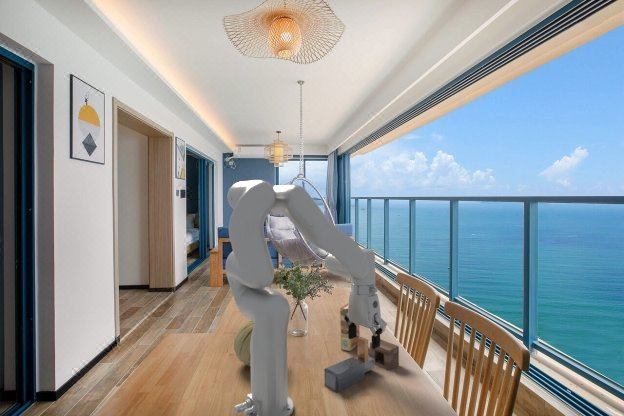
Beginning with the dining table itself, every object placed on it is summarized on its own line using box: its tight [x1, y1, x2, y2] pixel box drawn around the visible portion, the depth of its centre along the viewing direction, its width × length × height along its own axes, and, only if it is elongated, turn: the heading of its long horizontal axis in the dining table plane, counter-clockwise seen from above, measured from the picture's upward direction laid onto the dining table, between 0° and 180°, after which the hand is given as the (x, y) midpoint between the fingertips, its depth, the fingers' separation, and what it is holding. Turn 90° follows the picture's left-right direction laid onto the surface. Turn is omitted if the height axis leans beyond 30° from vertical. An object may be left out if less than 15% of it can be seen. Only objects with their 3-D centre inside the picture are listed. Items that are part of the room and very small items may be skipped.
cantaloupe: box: [233, 320, 254, 368], centre depth 120 cm, size 15×15×15 cm
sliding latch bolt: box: [357, 336, 376, 373], centre depth 111 cm, size 16×3×10 cm, turn 130°
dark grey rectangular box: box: [323, 356, 366, 393], centre depth 108 cm, size 12×5×5 cm, turn 130°
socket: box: [369, 338, 400, 371], centre depth 120 cm, size 5×8×6 cm, turn 40°
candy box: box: [339, 302, 361, 352], centre depth 134 cm, size 9×4×15 cm, turn 150°
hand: (363, 342), depth 114 cm, fingers open, 9 cm apart
